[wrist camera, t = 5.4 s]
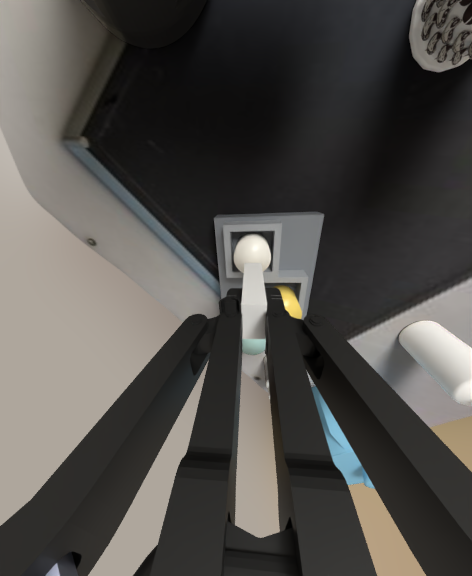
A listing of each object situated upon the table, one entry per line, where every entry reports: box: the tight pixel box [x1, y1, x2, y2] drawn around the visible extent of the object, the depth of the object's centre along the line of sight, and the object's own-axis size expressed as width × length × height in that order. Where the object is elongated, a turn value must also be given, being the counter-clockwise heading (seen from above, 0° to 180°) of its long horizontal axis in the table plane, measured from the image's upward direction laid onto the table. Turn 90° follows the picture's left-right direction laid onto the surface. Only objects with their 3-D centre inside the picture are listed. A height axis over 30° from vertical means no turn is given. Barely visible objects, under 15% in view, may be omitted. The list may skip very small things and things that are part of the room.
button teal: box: [242, 336, 266, 355], centre depth 30 cm, size 4×4×4 cm
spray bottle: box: [399, 320, 472, 406], centre depth 27 cm, size 7×7×18 cm
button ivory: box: [234, 232, 271, 273], centre depth 24 cm, size 4×4×4 cm
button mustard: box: [272, 285, 302, 319], centre depth 25 cm, size 4×4×4 cm
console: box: [214, 212, 324, 351], centre depth 29 cm, size 22×14×6 cm, turn 2°
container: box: [312, 386, 375, 489], centre depth 39 cm, size 17×25×15 cm
